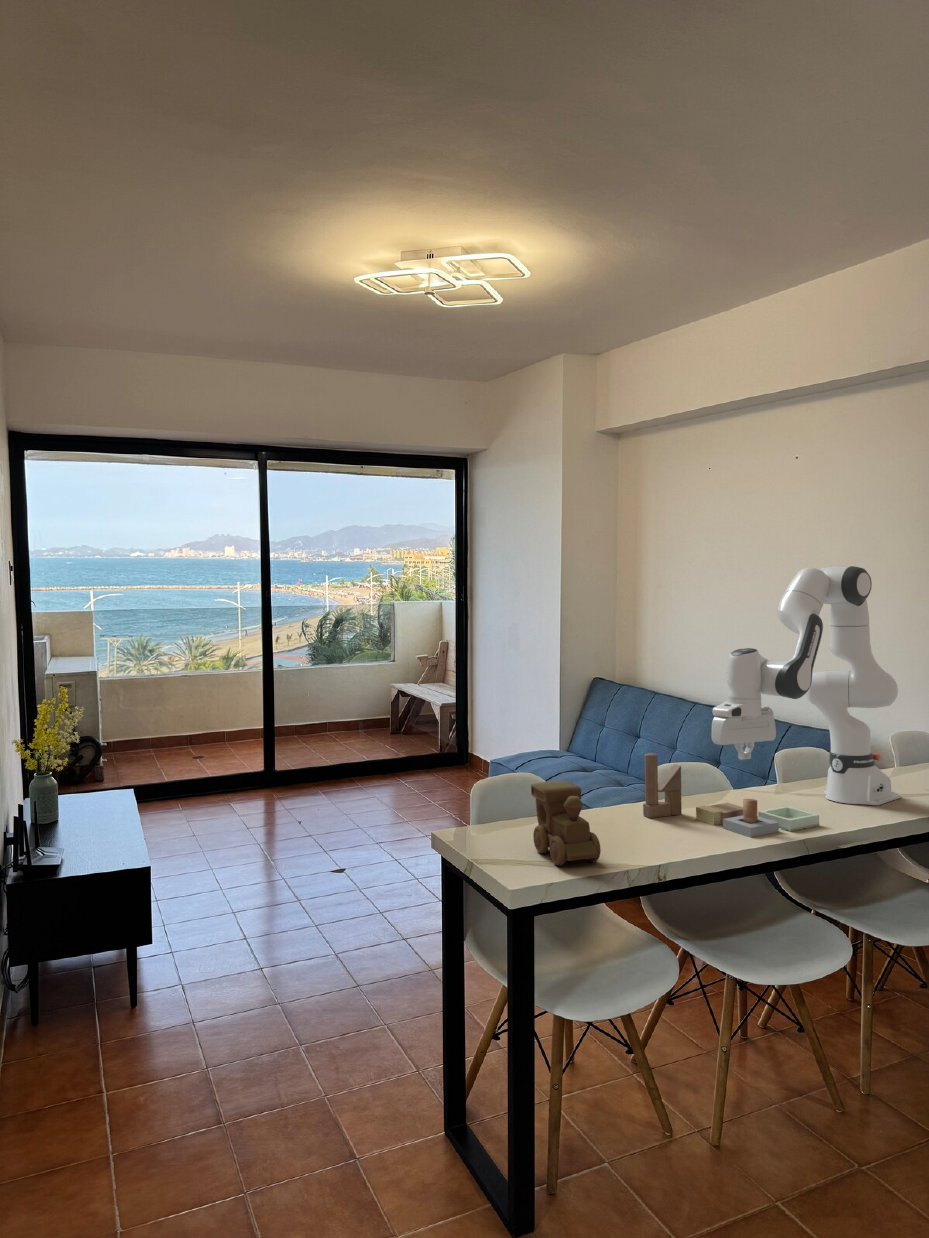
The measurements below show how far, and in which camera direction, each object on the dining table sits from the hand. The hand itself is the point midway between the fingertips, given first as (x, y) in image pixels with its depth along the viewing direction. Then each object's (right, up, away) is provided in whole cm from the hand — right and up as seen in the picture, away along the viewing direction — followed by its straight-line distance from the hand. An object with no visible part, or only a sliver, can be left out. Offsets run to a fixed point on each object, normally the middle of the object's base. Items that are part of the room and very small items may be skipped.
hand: (744, 758), depth 232 cm
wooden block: (-19, -19, +13) cm, 30 cm away
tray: (+12, -18, +1) cm, 22 cm away
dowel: (0, -18, -4) cm, 19 cm away
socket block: (0, -18, -4) cm, 19 cm away
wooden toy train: (-52, -20, -23) cm, 60 cm away
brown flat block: (-3, -19, +8) cm, 20 cm away
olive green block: (-8, -18, +5) cm, 21 cm away
